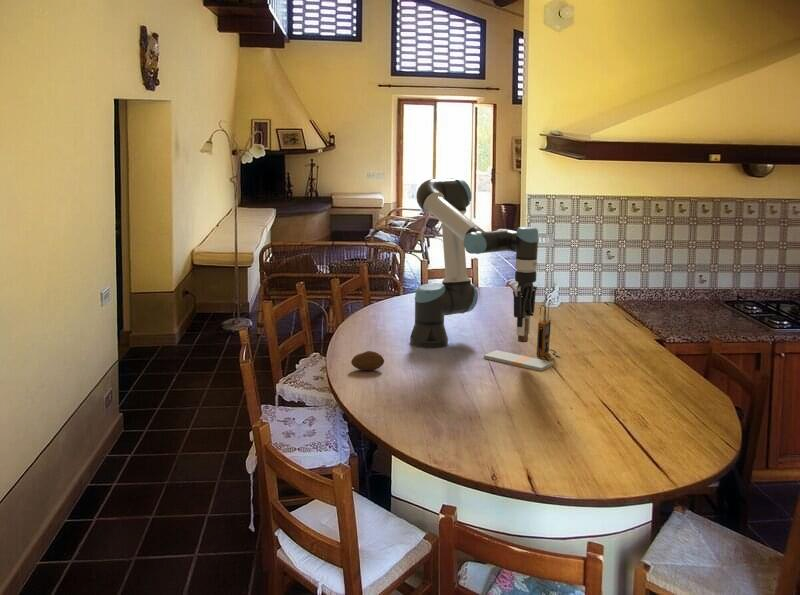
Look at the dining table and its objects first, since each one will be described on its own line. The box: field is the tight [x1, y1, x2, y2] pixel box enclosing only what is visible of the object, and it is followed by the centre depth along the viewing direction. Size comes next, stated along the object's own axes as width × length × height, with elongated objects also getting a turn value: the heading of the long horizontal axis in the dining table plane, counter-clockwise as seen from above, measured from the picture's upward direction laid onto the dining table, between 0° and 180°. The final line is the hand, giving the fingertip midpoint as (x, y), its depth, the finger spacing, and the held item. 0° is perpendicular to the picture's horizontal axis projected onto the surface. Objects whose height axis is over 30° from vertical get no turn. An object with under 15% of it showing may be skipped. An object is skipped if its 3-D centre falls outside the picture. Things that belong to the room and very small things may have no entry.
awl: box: [517, 311, 529, 343], centre depth 280 cm, size 4×4×11 cm
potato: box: [350, 350, 385, 371], centre depth 272 cm, size 7×12×7 cm, turn 101°
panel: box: [483, 349, 554, 372], centre depth 285 cm, size 24×9×1 cm, turn 52°
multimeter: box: [536, 301, 562, 361], centre depth 292 cm, size 15×10×20 cm
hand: (523, 334), depth 281 cm, fingers closed on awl, 3 cm apart
